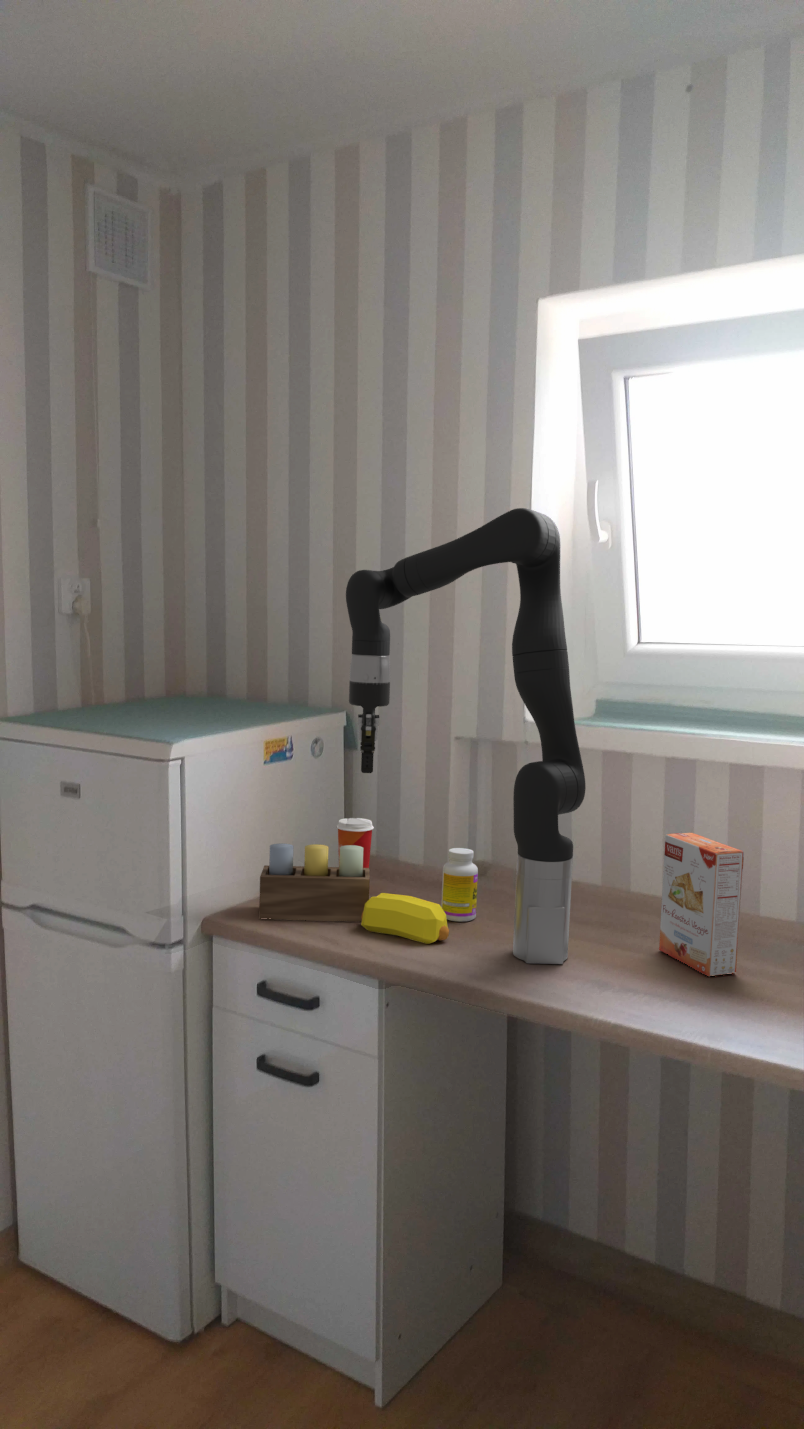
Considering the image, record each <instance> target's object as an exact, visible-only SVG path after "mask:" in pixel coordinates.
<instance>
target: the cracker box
mask: <svg viewBox="0 0 804 1429" xmlns="http://www.w3.org/2000/svg"><path fill="white" fill-rule="evenodd" d="M664 839H665V840H664V855H663V856H664V857H663V873H662V891H661V906H660V907H661V910H660V927H659V947H658V949H659V950H658V951H660V952H662V953H664V954H665V955H667V954H668V955H667V956H669V957H671V958H673V959H675V960H676V959H677V961H678V960H679V961H678V962H680V961H681V963H682V962H683V963H682V964H684V963H685V964H687V965H688V967H689V966H690V967H689V968H691V967H692V968H691V969H693V968H694V969H695V970H694V969H693V970H694V971H696V970H697V971H696V972H698V971H699V972H698V973H700V972H701V973H703V974H705V975H707V976H712V975H721V974H727V973H732V972H736V973H737V964H738V951H739V950H738V949H739V933H740V932H739V931H740V917H741V903H742V901H741V900H742V887H743V875H744V874H743V872H744V855H745V852H744V851H743V850H741V849H738V848H735V847H733V846H730V845H727V844H724V843H721V842H718V841H716V840H713V839H710V838H708V837H705V836H702V835H700V834H696V833H695V832H683V833H682V832H678V833H677V832H675V833H667V834H665V838H664ZM685 964H684V965H685ZM687 965H686V966H687ZM701 973H700V974H701ZM703 974H702V975H703ZM705 975H704V976H705ZM707 976H706V977H707Z"/></svg>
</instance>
